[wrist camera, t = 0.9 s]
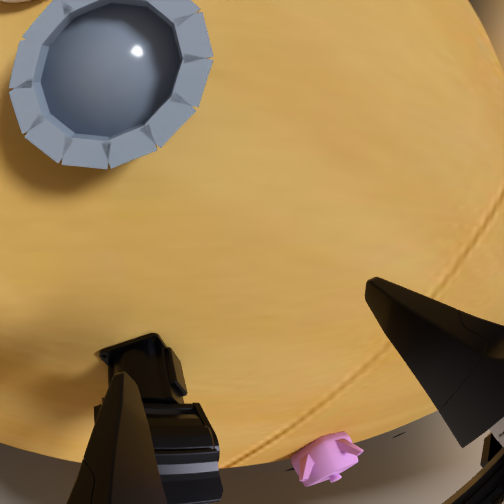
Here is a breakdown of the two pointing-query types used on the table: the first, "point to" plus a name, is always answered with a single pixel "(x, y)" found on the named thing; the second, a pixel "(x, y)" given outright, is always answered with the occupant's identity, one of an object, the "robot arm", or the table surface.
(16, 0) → the lid
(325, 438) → the teakettle
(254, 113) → the table surface
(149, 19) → the bowl
